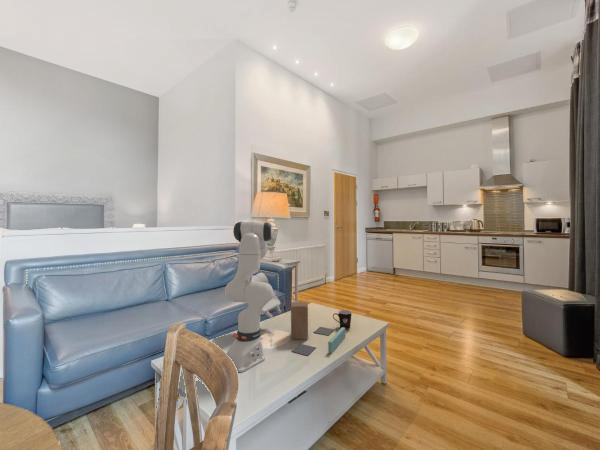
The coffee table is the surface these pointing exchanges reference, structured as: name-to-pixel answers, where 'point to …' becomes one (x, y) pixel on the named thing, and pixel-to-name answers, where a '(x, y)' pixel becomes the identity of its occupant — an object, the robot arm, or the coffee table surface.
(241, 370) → the robot arm
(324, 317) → the coffee table surface
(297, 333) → the block
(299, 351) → the mats
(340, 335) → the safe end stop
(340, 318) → the coffee mug
